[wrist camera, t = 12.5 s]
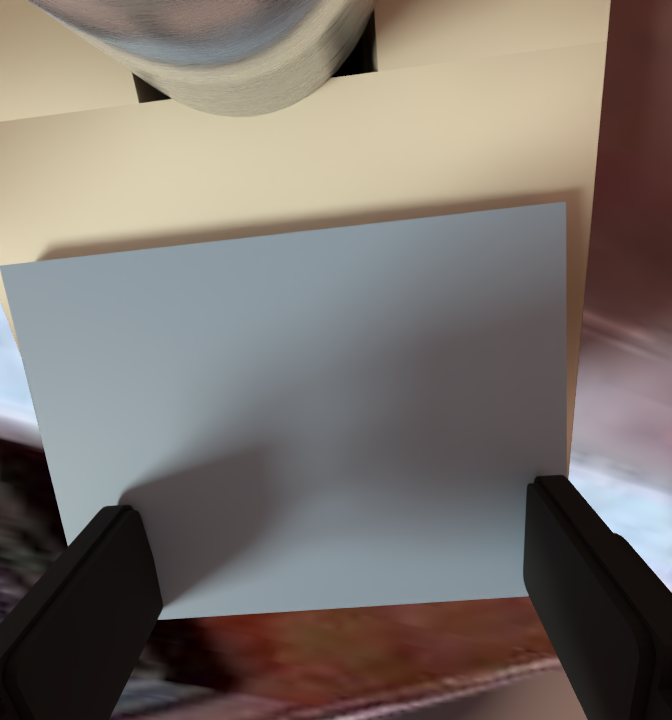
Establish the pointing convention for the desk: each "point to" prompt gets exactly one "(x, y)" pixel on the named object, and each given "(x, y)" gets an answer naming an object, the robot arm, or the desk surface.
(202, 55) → the light bulb
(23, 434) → the desk surface
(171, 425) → the plate
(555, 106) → the block
